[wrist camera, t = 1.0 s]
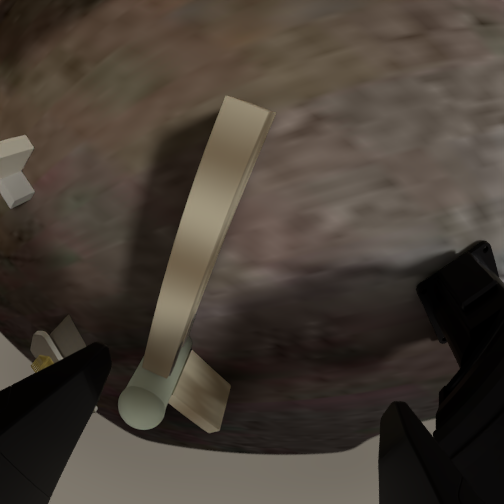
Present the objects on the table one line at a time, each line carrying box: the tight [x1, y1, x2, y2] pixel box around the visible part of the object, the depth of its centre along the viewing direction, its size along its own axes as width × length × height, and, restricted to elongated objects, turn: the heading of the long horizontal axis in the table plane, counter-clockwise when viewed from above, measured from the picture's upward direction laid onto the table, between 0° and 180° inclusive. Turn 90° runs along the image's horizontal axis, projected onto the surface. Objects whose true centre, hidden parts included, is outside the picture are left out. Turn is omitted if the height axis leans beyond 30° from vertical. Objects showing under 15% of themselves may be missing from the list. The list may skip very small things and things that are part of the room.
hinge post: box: [118, 336, 192, 430], centre depth 20 cm, size 3×3×9 cm
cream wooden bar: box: [142, 96, 276, 379], centre depth 17 cm, size 17×2×5 cm, turn 158°
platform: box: [30, 315, 98, 413], centre depth 24 cm, size 12×18×7 cm, turn 12°
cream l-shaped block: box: [0, 135, 35, 209], centre depth 17 cm, size 4×4×6 cm
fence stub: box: [168, 350, 231, 433], centre depth 23 cm, size 5×1×5 cm, turn 38°
